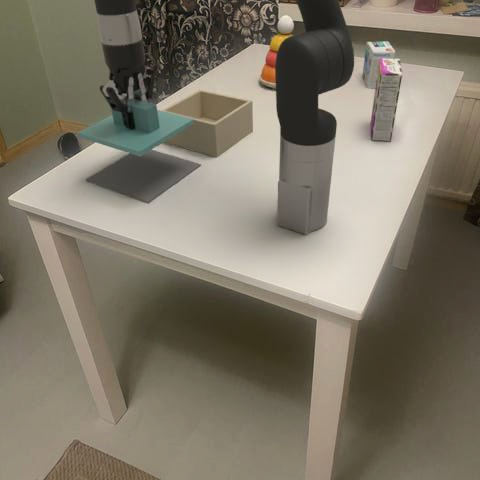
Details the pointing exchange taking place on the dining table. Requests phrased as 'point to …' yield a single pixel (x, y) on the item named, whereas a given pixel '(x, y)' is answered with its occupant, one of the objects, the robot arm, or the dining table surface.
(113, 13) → the robot arm
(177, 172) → the rubber mat
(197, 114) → the storage box
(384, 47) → the light bulb box
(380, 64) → the candy bar box
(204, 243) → the dining table surface
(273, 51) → the stacking toy
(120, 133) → the lid
